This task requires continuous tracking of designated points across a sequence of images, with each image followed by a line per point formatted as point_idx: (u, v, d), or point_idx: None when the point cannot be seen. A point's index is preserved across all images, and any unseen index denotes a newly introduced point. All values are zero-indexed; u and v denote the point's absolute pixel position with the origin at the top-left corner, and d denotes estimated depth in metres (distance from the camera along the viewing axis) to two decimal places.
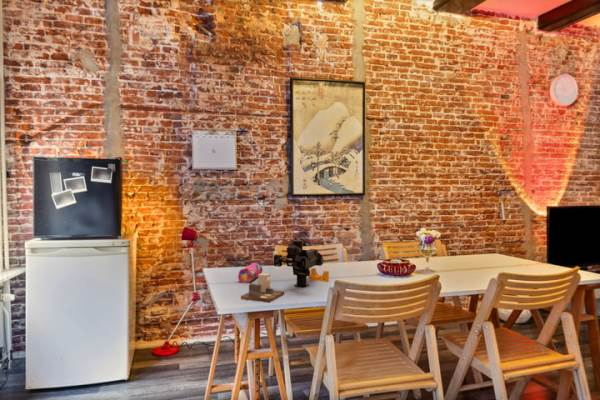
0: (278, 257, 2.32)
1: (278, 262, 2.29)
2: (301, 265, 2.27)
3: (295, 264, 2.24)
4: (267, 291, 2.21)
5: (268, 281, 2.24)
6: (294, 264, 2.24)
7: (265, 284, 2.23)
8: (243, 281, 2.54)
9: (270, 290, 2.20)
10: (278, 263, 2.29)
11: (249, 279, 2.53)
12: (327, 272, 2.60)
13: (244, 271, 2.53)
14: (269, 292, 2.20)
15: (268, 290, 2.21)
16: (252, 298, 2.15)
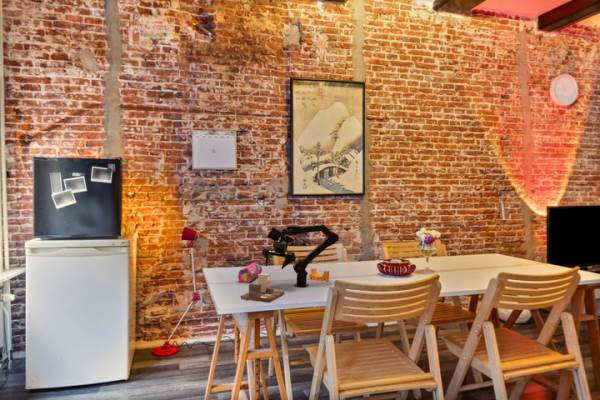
0: (266, 254, 2.38)
1: (268, 260, 2.38)
2: (290, 260, 2.37)
3: (284, 265, 2.34)
4: (267, 291, 2.21)
5: (268, 281, 2.24)
6: (283, 266, 2.33)
7: (265, 284, 2.23)
8: (243, 281, 2.54)
9: (270, 290, 2.20)
10: (268, 261, 2.38)
11: (249, 279, 2.53)
12: (328, 272, 2.60)
13: (244, 271, 2.53)
14: (269, 292, 2.20)
15: (268, 290, 2.21)
16: (252, 298, 2.15)
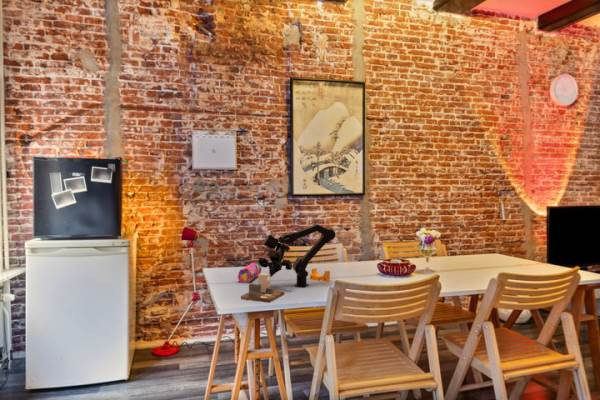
0: (270, 264, 2.36)
1: None
2: (278, 267, 2.36)
3: (273, 272, 2.34)
4: (267, 291, 2.21)
5: (268, 281, 2.24)
6: (272, 273, 2.33)
7: (265, 284, 2.23)
8: (243, 281, 2.54)
9: (270, 290, 2.20)
10: None
11: (249, 279, 2.53)
12: (328, 272, 2.61)
13: (244, 271, 2.53)
14: (269, 292, 2.20)
15: (268, 290, 2.21)
16: (252, 298, 2.15)
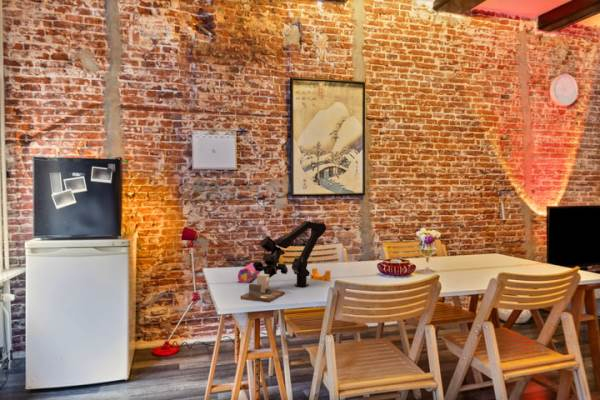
0: (265, 268, 2.30)
1: None
2: (274, 271, 2.31)
3: None
4: (266, 291, 2.20)
5: (267, 282, 2.23)
6: None
7: (264, 284, 2.22)
8: (243, 281, 2.54)
9: (269, 290, 2.19)
10: None
11: (249, 279, 2.53)
12: (329, 272, 2.61)
13: (244, 271, 2.53)
14: (268, 292, 2.19)
15: (267, 290, 2.20)
16: (252, 298, 2.15)
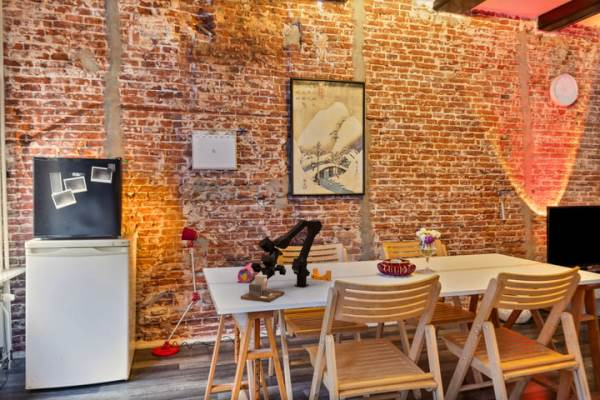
0: (263, 269, 2.28)
1: None
2: (272, 273, 2.28)
3: None
4: (263, 293, 2.17)
5: (265, 283, 2.21)
6: None
7: (262, 285, 2.20)
8: (243, 281, 2.54)
9: (266, 292, 2.16)
10: None
11: (249, 279, 2.53)
12: (330, 272, 2.62)
13: (244, 271, 2.53)
14: (265, 294, 2.16)
15: (264, 292, 2.16)
16: (252, 298, 2.15)
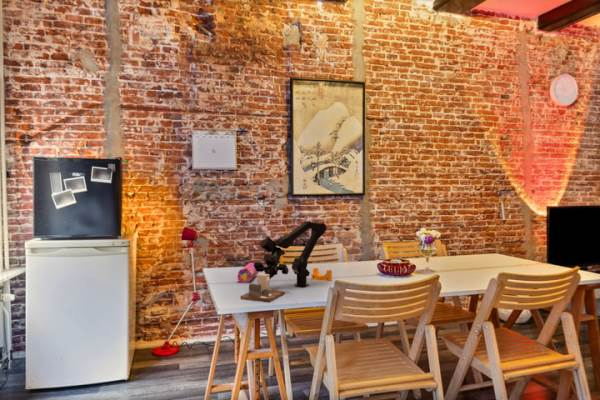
0: (266, 269, 2.30)
1: None
2: (274, 272, 2.31)
3: None
4: (263, 293, 2.17)
5: (268, 282, 2.24)
6: None
7: (264, 284, 2.22)
8: (243, 281, 2.53)
9: (266, 292, 2.16)
10: None
11: (249, 279, 2.53)
12: (330, 271, 2.62)
13: (244, 271, 2.53)
14: (265, 294, 2.16)
15: (264, 292, 2.16)
16: (252, 298, 2.15)
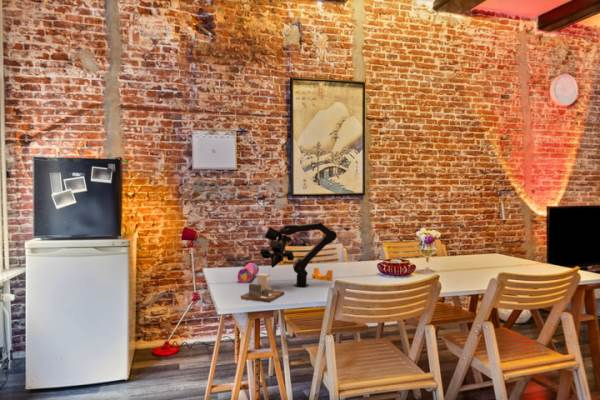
0: (272, 255, 2.37)
1: None
2: (280, 258, 2.38)
3: (275, 263, 2.35)
4: (263, 293, 2.17)
5: (268, 281, 2.24)
6: (274, 264, 2.35)
7: (264, 284, 2.22)
8: (242, 281, 2.53)
9: (266, 292, 2.16)
10: None
11: (249, 279, 2.53)
12: (331, 271, 2.63)
13: (244, 271, 2.53)
14: (265, 294, 2.16)
15: (264, 292, 2.16)
16: (252, 298, 2.15)
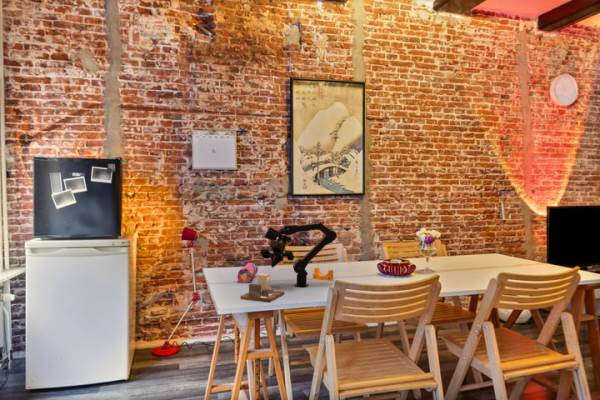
0: (272, 255, 2.37)
1: None
2: (280, 258, 2.38)
3: (275, 263, 2.35)
4: (263, 293, 2.17)
5: (268, 281, 2.24)
6: (274, 264, 2.35)
7: (264, 284, 2.22)
8: (242, 281, 2.53)
9: (266, 292, 2.16)
10: None
11: (249, 279, 2.53)
12: (332, 271, 2.64)
13: (244, 271, 2.53)
14: (265, 294, 2.16)
15: (264, 292, 2.16)
16: (252, 298, 2.15)
